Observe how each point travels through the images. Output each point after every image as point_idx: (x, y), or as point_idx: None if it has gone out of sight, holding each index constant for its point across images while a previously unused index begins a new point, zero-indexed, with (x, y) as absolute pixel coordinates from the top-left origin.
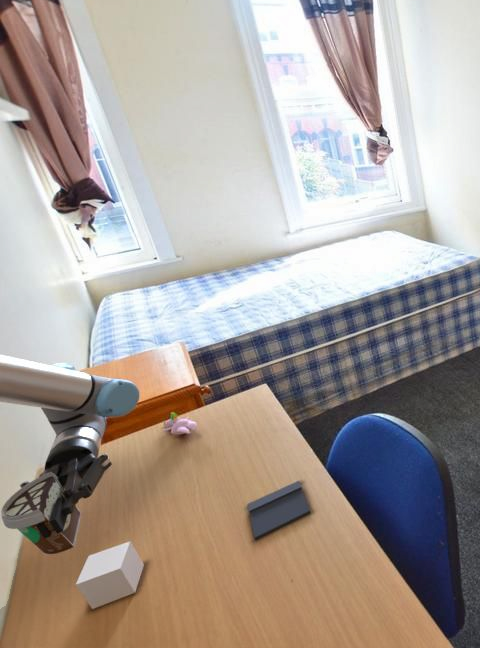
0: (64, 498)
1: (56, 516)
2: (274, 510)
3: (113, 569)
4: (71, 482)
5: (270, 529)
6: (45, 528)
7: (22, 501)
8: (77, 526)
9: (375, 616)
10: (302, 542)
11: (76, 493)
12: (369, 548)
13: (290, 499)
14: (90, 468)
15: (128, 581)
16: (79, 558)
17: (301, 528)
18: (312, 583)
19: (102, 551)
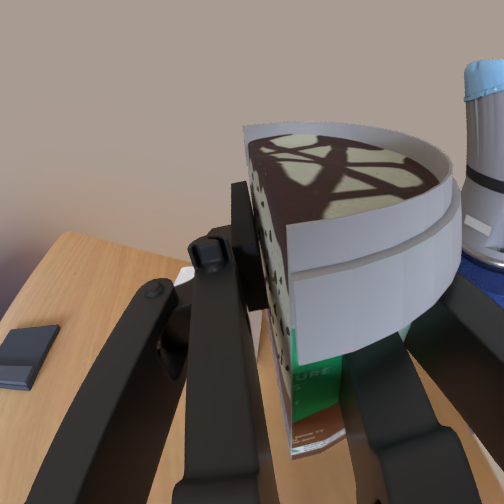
0: (236, 266)
1: (231, 190)
2: (21, 352)
3: (192, 268)
4: (205, 344)
5: (42, 326)
6: None
7: (377, 172)
8: (278, 379)
9: (69, 241)
10: (43, 303)
11: (188, 281)
12: (30, 278)
13: (3, 358)
14: (82, 454)
15: None
16: (339, 456)
17: (30, 318)
18: (69, 267)
19: None
